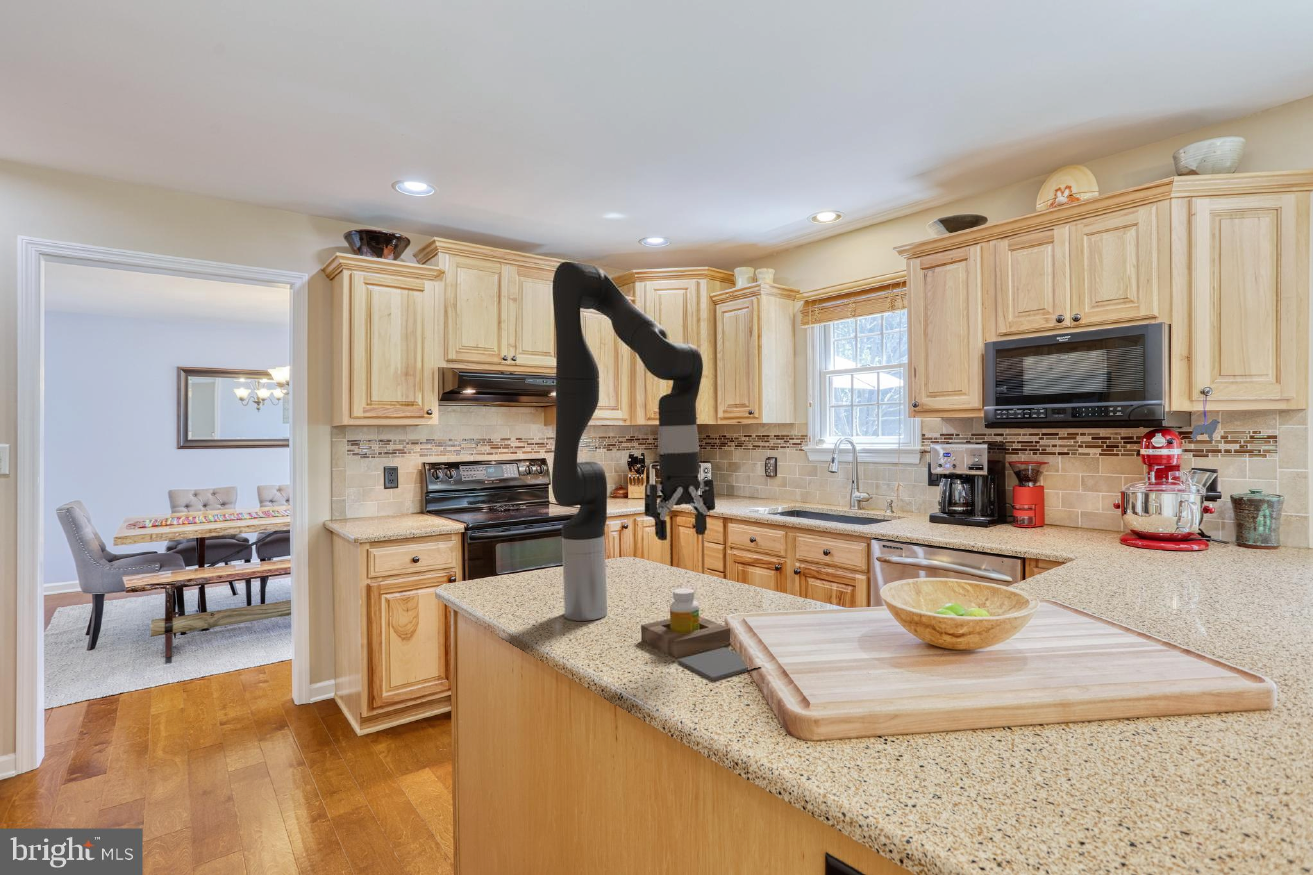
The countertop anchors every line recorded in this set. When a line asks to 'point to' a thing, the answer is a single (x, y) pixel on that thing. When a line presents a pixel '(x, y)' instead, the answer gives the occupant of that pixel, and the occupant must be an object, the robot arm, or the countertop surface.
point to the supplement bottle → (684, 612)
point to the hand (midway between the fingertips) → (681, 537)
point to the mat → (715, 663)
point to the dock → (685, 637)
